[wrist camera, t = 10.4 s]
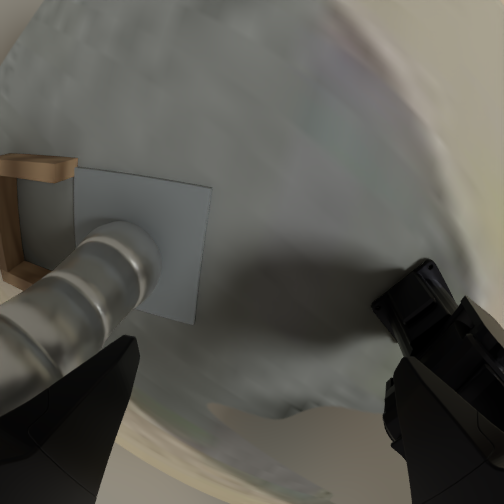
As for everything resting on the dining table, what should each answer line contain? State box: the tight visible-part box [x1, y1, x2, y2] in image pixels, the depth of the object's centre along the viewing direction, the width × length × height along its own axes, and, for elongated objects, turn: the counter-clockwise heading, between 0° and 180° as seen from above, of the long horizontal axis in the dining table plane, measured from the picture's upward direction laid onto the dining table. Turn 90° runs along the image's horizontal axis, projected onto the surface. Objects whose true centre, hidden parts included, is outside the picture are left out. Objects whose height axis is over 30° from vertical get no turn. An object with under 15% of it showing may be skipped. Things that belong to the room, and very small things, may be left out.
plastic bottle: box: [0, 221, 162, 416], centre depth 13 cm, size 6×7×20 cm
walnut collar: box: [0, 153, 78, 291], centre depth 21 cm, size 10×13×3 cm
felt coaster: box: [74, 167, 212, 325], centre depth 22 cm, size 12×12×1 cm
